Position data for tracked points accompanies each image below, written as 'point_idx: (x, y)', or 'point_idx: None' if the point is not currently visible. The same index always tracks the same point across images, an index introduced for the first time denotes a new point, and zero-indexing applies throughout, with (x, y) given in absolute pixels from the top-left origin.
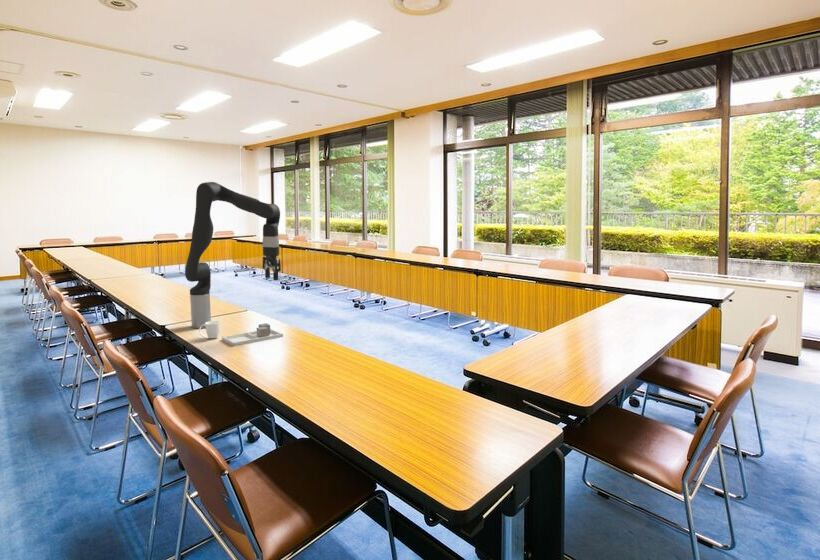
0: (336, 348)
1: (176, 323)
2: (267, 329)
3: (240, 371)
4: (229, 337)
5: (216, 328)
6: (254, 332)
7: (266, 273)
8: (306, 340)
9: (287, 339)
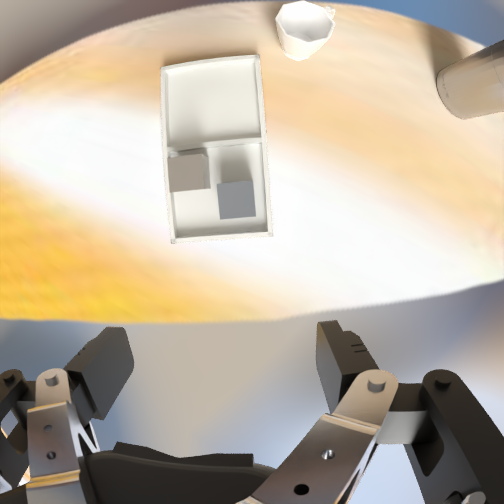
0: (36, 307)
1: None
2: (170, 188)
3: (16, 77)
4: (256, 77)
5: (279, 32)
6: (263, 167)
7: (329, 358)
8: (114, 287)
9: (150, 245)
